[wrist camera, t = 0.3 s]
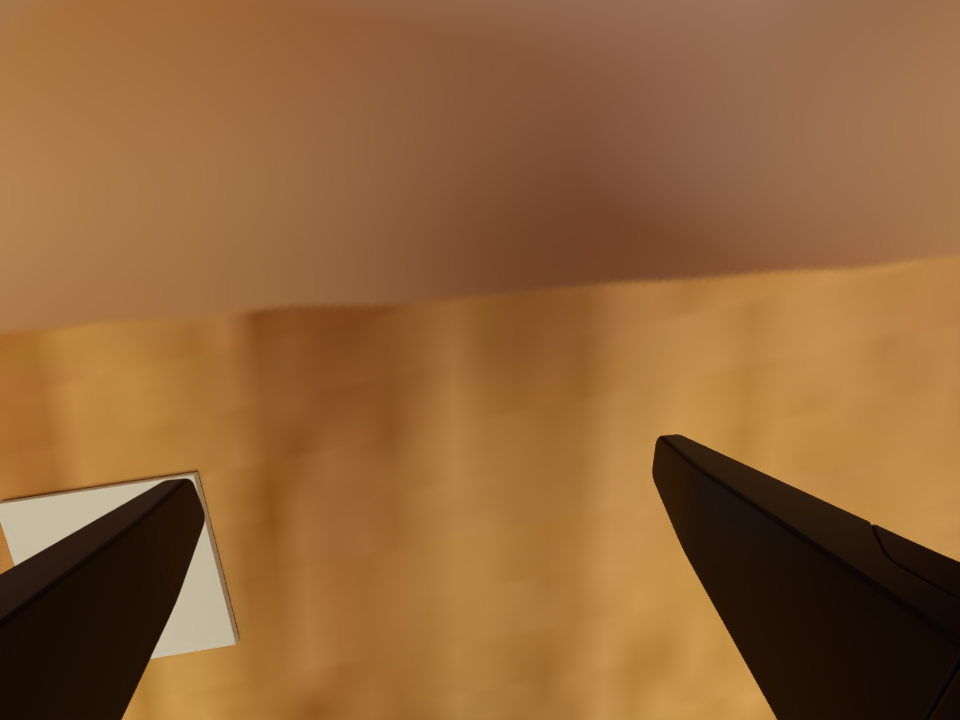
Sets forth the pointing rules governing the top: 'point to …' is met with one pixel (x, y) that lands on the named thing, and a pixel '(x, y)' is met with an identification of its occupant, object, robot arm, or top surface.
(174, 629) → the mat
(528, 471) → the top surface
